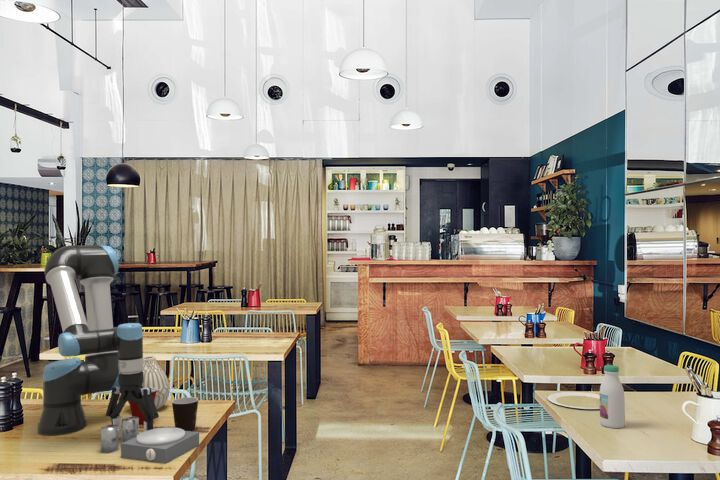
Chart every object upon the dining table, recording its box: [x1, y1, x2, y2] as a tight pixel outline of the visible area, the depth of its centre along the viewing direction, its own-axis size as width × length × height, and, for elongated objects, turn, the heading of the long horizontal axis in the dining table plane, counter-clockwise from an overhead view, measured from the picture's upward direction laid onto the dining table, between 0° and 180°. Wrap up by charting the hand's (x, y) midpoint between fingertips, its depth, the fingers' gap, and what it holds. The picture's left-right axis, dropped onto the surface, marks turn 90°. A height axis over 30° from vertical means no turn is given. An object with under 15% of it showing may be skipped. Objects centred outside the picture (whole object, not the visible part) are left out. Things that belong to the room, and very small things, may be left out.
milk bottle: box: [599, 364, 626, 429], centre depth 193 cm, size 8×8×20 cm
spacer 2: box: [121, 415, 140, 443], centre depth 184 cm, size 5×5×7 cm
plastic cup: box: [128, 388, 158, 426], centre depth 204 cm, size 11×11×12 cm
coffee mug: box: [171, 396, 199, 432], centre depth 196 cm, size 12×9×10 cm
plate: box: [547, 391, 600, 411], centre depth 223 cm, size 25×25×1 cm
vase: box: [127, 355, 171, 411], centre depth 221 cm, size 16×16×20 cm
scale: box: [120, 426, 200, 464], centre depth 174 cm, size 16×17×5 cm
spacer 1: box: [100, 424, 120, 454], centre depth 176 cm, size 5×5×7 cm
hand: (132, 439), depth 184 cm, fingers open, 12 cm apart
